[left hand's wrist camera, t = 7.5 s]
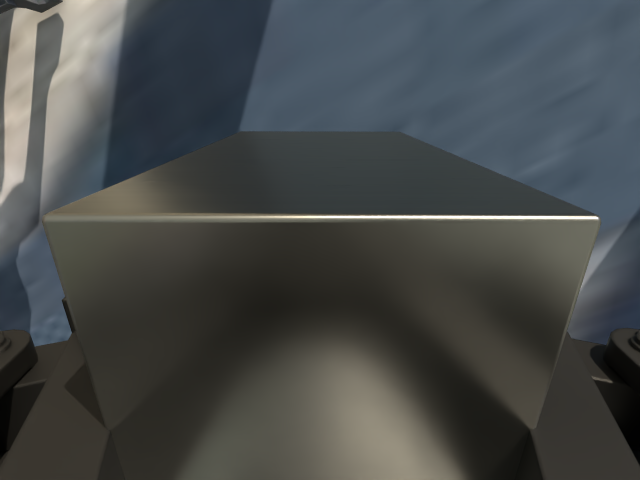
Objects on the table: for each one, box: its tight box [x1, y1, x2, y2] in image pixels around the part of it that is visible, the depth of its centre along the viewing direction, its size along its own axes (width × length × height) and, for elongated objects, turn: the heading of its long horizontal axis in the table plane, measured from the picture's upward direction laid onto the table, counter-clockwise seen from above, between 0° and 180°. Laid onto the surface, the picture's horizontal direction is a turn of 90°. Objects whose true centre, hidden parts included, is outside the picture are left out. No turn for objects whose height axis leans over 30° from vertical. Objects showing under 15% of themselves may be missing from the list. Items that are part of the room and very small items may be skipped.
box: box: [42, 131, 601, 480], centre depth 13 cm, size 22×6×10 cm, turn 0°
